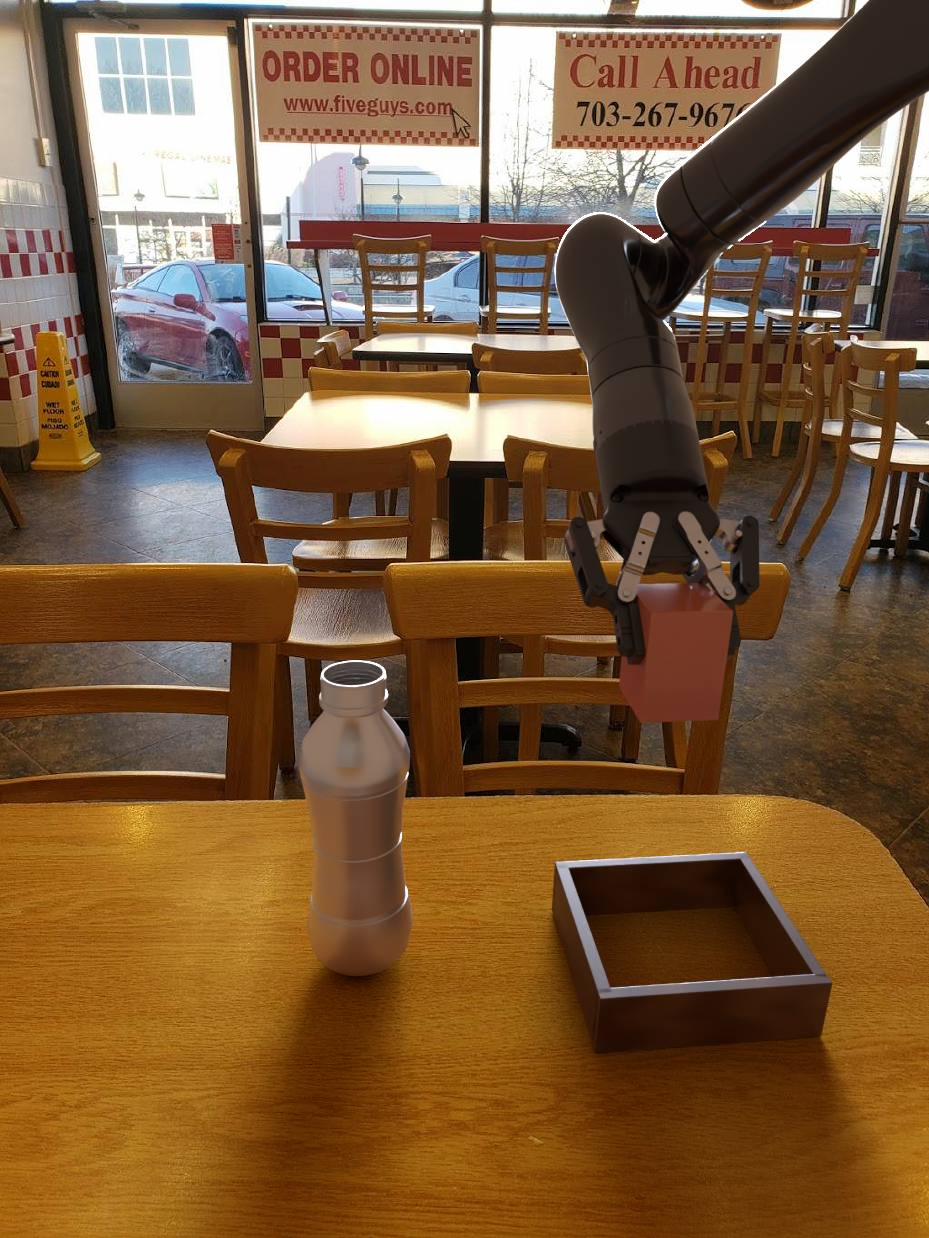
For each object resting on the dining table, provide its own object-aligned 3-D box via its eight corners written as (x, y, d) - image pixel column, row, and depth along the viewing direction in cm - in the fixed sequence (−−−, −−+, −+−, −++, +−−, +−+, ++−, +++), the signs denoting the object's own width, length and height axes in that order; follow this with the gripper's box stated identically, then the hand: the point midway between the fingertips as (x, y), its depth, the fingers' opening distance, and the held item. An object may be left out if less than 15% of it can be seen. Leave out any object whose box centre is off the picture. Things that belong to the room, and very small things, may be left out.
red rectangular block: (691, 685, 69) (704, 582, 66) (718, 720, 64) (733, 611, 61) (618, 687, 68) (628, 583, 65) (640, 723, 63) (651, 612, 60)
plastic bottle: (426, 974, 59) (429, 687, 52) (321, 1002, 57) (308, 706, 49) (395, 911, 65) (393, 644, 57) (298, 934, 62) (283, 659, 55)
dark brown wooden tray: (739, 898, 67) (746, 851, 65) (821, 1036, 55) (832, 982, 54) (551, 909, 65) (554, 861, 64) (595, 1053, 54) (600, 998, 52)
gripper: (561, 415, 65) (589, 641, 59) (759, 416, 67) (808, 636, 60) (542, 473, 72) (565, 681, 65) (722, 473, 74) (762, 676, 67)
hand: (681, 658), depth 63 cm, fingers closed on red rectangular block, 5 cm apart
